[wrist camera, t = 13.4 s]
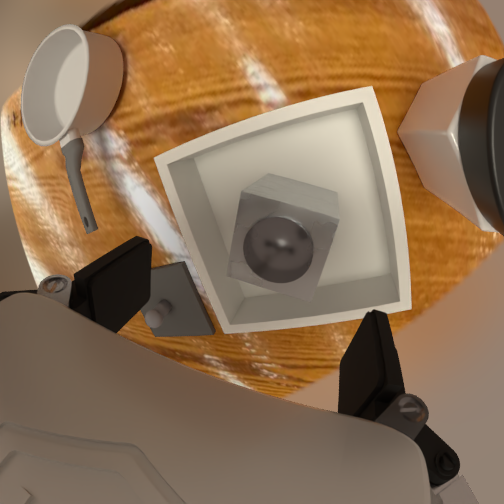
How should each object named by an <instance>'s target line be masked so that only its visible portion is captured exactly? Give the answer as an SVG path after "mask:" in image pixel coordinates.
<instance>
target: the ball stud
mask: <svg viewBox="0 0 504 504" xmlns="http://www.w3.org/2000/svg"><path fill="white" fill-rule="evenodd" d="M140 310H141V312H142V314H143V316H144V318H145V322H146V324H147V325H148V326H149V327H150V328H151V330H152V332H153V334H154V335H155V337H165V336H200V335H214V333H215V329H214V327H213V325H212V322H211V320H210V318H209V316H208V314H207V312H206V309H205V307H204V305H203V303H202V301H201V298H200V296H199V294H198V292H197V289H196V287H195V285H194V283H193V280H192V278H191V276H190V273H189V271H188V269H187V266H186V264H185V261H183V262H179V263H174V264H169V265H165V266H160V267H155V268H151V296H150V299H149V301H148V302H147V303H146V304H145V305H144V306H143V307H142V308H141V309H140Z"/></svg>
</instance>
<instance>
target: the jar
mask: <svg viewBox="0 0 504 504" xmlns="http://www.w3.org/2000/svg"><path fill="white" fill-rule="evenodd" d="M397 133H398V135H399V137H400V139H401V141H402V142H403V144H404V146H405V148H406V150H407V152H408V154H409V156H410V158H411V160H412V162H413V164H414V166H415V169H416V171H417V173H418V175H419V177H420V180H421V182H422V184H423V186H424V188H425V189H426V190H428V191H429V192H431V193H432V194H434V195H435V196H437V197H438V198H440V199H441V200H443V201H444V202H445V203H447V204H448V205H450V206H451V207H452V208H454V209H455V210H456V211H458V212H459V213H460V214H462V215H463V216H464V217H466V218H467V219H468V220H470V221H471V222H472V223H473V224H475V225H476V226H477V227H478V228H480V229H481V230H482V231H489V232H499V233H500V234H502V235H503V236H504V58H503V59H500V60H496V59H493V58H490V57H488V56H485V55H480V56H478V57H475V58H473V59H471V60H469V61H467V62H465V63H462V64H460V65H458V66H456V67H454V68H452V69H450V70H448V71H446V72H444V73H442V74H440V75H438V76H436V77H434V78H432V79H430V80H428V81H426V82H424V83H422V85H421V87H420V89H419V91H418V93H417V95H416V97H415V99H414V101H413V103H412V104H411V106H410V108H409V110H408V112H407V114H406V116H405V118H404V120H403V121H402V123H401V125H400V127H399V129H398V131H397Z"/></svg>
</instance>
